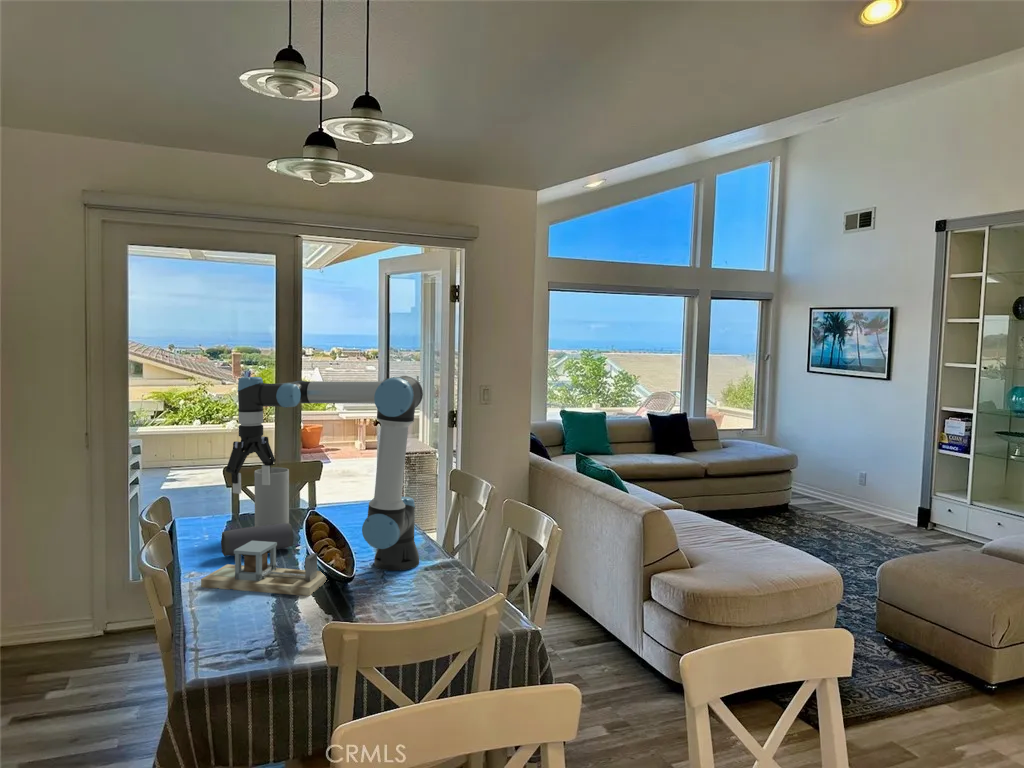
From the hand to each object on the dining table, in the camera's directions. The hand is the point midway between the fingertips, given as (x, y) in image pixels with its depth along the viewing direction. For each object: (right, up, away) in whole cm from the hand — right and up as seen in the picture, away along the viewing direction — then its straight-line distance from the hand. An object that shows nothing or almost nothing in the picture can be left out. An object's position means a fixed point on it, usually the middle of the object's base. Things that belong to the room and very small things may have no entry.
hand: (252, 488), depth 220 cm
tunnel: (+5, -25, -11) cm, 28 cm away
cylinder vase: (-8, -24, +41) cm, 48 cm away
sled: (+13, -25, -12) cm, 30 cm away
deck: (+9, -28, -11) cm, 31 cm away
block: (+5, -24, -11) cm, 27 cm away
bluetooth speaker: (-5, -26, +17) cm, 32 cm away
